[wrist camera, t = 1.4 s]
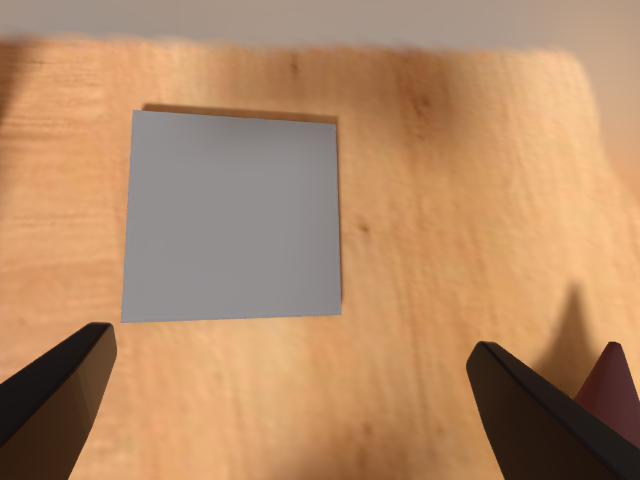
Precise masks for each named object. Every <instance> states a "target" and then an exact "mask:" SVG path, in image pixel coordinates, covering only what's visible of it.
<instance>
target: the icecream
mask: <svg viewBox="0 0 640 480" xmlns="http://www.w3.org/2000/svg"><path fill="white" fill-rule="evenodd" d="M574 401H575V402H577V403H578V404H579V405H581V406H582V407H584V408H585V409H586V410H588V411H589V412H590V413H592V414H593V415H594V416H596V417H597V418H598V419H600V420H601V421H602V422H604V423H605V424H607V425H608V426H609V427H611V428H612V429H613V430H615V431H616V432H617V433H619V434H620V435H621V436H623V437H624V438H626V439H627V440H628V441H630V442H631V443H632V444H634V445H635V446H636V447H638V448H639V449H640V401H639V398H638V395H637V392H636V389H635V386H634V383H633V380H632V377H631V373H630V370H629V367H628V364H627V361H626V358H625V355H624V352H623V349H622V347H621V344H619V343H617V342H609V343H608V344H607V346H606V347H605V349H604V350H603V352H602V354H601V356H600V357H599V359H598V361H597V363H596V364H595V366H594V368H593V369H592V371H591V373H590V374H589V376H588V378H587V379H586V381H585V383H584V384H583V386H582V387H581V389H580V391H579V392H578V394H577V396H576V397H575V399H574Z"/></svg>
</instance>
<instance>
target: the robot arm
mask: <svg viewBox="0 0 640 480" xmlns="http://www.w3.org/2000/svg"><path fill="white" fill-rule="evenodd" d="M116 356H117V345H116V339H115V333H114V328H113V325H112V324H111V323H105V322H91V323H89V324H87V325H86V326H84V327H83V328H81V329H80V330H78V331H77V332H75V333H74V334H72V335H71V336H70V337H68V338H67V339H65V340H64V341H62V342H61V343H59V344H58V345H56V346H55V347H54V348H52V349H51V350H49V351H48V352H46V353H45V354H43V355H42V356H40V357H39V358H38V359H36V360H35V361H33V362H32V363H30V364H29V365H27V366H26V367H24V368H23V369H22V370H20V371H19V372H17V373H16V374H14V375H13V376H11V377H10V378H8V379H7V380H5V381H4V382H3V383H1V384H0V480H68V479H69V476H70V474H71V472H72V470H73V468H74V466H75V464H76V461H77V459H78V457H79V455H80V453H81V451H82V449H83V446H84V444H85V442H86V440H87V438H88V435H89V433H90V431H91V429H92V426H93V423H94V421H95V418H96V415H97V412H98V409H99V406H100V404H101V401H102V398H103V395H104V392H105V389H106V386H107V383H108V380H109V377H110V374H111V371H112V368H113V365H114V363H115V360H116ZM466 370H467V374H468V377H469V381H470V384H471V387H472V391H473V394H474V397H475V401H476V404H477V407H478V411H479V414H480V417H481V420H482V423H483V426H484V429H485V432H486V435H487V437H488V440H489V442H490V445H491V447H492V450H493V452H494V454H495V457H496V459H497V462H498V464H499V467H500V469H501V472H502V474H503V477H504V479H505V480H640V449H639V448H638V447H636V446H635V445H634V444H632V443H631V442H630V441H628V440H627V439H626V438H624V437H623V436H621V435H620V434H619V433H617V432H616V431H615V430H613V429H612V428H611V427H609V426H608V425H607V424H605V423H604V422H602V421H601V420H600V419H598V418H597V417H596V416H594V415H593V414H592V413H590V412H589V411H588V410H586V409H585V408H584V407H582V406H581V405H579V404H578V403H577V402H575V401H574V400H573V399H571V398H570V397H569V396H567V395H566V394H565V393H563V392H562V391H561V390H559V389H558V388H556V387H555V386H554V385H552V384H551V383H550V382H548V381H547V380H546V379H544V378H543V377H542V376H540V375H539V374H538V373H536V372H535V371H533V370H532V369H531V368H529V367H528V366H527V365H525V364H524V363H523V362H521V361H520V360H519V359H517V358H516V357H514V356H513V355H512V354H510V353H509V352H508V351H506V350H505V349H504V348H502V347H501V346H500V345H498V344H497V343H495V342H489V341H480V342H478V343H477V344H476V346H475V347H474V349H473V351H472V353H471V355H470V356H469V358H468V360H467V363H466Z"/></svg>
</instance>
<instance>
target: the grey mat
mask: <svg viewBox="0 0 640 480" xmlns="http://www.w3.org/2000/svg"><path fill="white" fill-rule="evenodd" d="M328 315H341V284H340V249H339V215H338V181H337V146H336V124H331V123H316V122H301V121H287V120H272V119H258V118H243V117H228V116H214V115H199V114H185V113H170V112H155V111H141V110H133V118H132V136H131V154H130V171H129V189H128V207H127V225H126V243H125V260H124V278H123V296H122V314H121V323H136V322H164V321H191V320H218V319H246V318H273V317H301V316H328Z"/></svg>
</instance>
